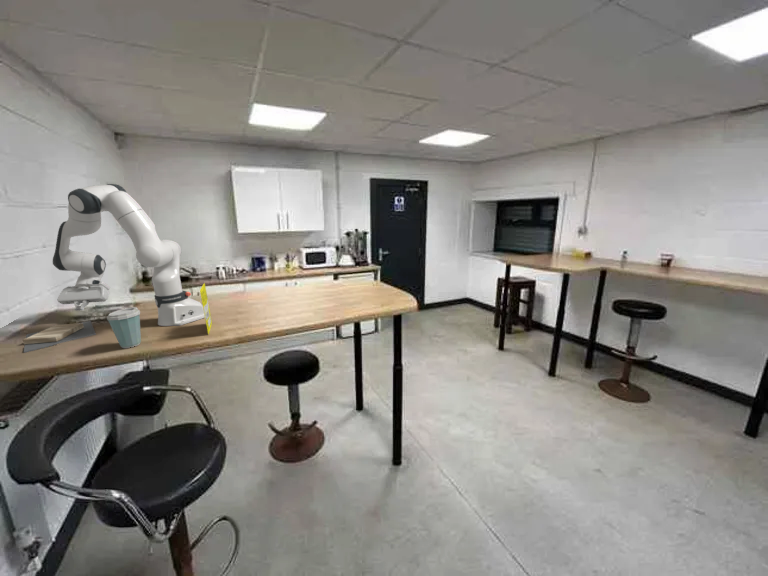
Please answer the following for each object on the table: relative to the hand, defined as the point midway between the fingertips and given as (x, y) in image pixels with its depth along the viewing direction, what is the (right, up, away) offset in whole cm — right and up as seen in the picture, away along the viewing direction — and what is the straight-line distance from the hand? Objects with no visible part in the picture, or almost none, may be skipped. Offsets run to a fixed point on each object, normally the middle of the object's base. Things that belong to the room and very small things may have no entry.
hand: (78, 310), depth 157 cm
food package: (+69, -8, -10) cm, 71 cm away
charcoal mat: (+4, -11, -12) cm, 17 cm away
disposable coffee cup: (+45, -13, -25) cm, 53 cm away
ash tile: (+2, -7, -7) cm, 10 cm away
